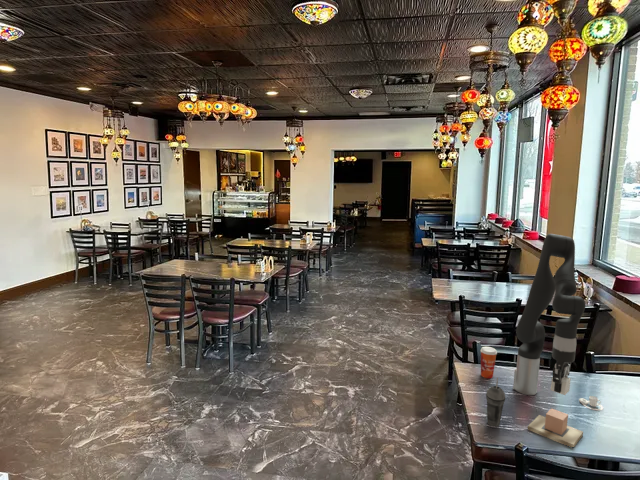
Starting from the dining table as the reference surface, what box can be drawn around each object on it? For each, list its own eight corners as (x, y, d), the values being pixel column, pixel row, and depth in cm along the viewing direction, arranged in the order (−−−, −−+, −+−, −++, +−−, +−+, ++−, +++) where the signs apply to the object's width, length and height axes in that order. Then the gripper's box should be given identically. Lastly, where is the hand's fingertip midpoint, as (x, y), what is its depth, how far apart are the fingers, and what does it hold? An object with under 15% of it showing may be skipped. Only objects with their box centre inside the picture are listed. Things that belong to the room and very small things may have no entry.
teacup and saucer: (575, 402, 190) (576, 394, 189) (588, 399, 193) (589, 391, 193) (595, 412, 182) (596, 403, 181) (607, 409, 185) (608, 400, 185)
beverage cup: (502, 420, 174) (506, 374, 171) (503, 430, 167) (508, 382, 164) (483, 416, 176) (487, 371, 174) (483, 426, 170) (487, 378, 167)
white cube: (550, 390, 164) (551, 377, 163) (555, 386, 167) (556, 374, 167) (564, 395, 160) (566, 382, 160) (569, 390, 164) (570, 378, 163)
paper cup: (480, 378, 210) (482, 351, 208) (477, 371, 218) (479, 345, 216) (497, 380, 209) (499, 353, 207) (493, 373, 217) (495, 346, 215)
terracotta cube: (544, 428, 166) (546, 413, 166) (550, 422, 170) (551, 408, 170) (561, 435, 162) (563, 420, 161) (566, 428, 166) (568, 414, 165)
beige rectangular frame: (527, 429, 168) (528, 425, 168) (539, 418, 176) (539, 414, 176) (572, 448, 157) (573, 444, 156) (582, 435, 165) (583, 431, 165)
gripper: (559, 339, 169) (555, 380, 172) (546, 349, 159) (542, 392, 162) (581, 345, 164) (576, 387, 166) (569, 355, 154) (564, 399, 156)
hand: (559, 389), depth 164 cm, fingers closed on white cube, 5 cm apart
